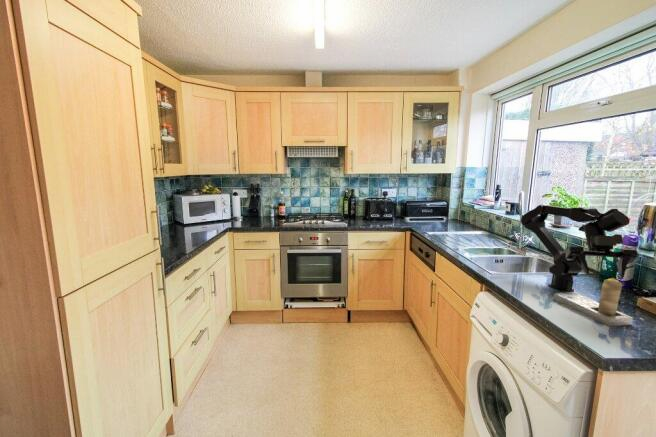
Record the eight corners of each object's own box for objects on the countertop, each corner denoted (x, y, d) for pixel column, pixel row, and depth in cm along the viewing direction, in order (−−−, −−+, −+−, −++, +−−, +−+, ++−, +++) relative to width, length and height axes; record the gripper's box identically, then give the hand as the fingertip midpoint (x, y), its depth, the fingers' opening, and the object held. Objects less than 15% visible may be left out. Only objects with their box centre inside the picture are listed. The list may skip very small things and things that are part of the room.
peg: (592, 315, 102) (600, 279, 99) (603, 314, 102) (611, 279, 100) (606, 322, 97) (615, 285, 95) (617, 321, 98) (626, 284, 96)
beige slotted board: (553, 299, 113) (554, 293, 113) (572, 298, 115) (573, 292, 115) (608, 326, 95) (610, 319, 94) (631, 324, 96) (632, 317, 96)
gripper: (571, 224, 107) (578, 263, 100) (640, 226, 100) (653, 268, 92) (562, 239, 116) (568, 276, 108) (625, 242, 108) (636, 282, 101)
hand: (605, 276), depth 102 cm, fingers open, 9 cm apart
